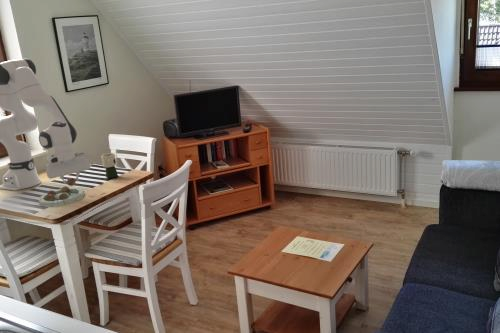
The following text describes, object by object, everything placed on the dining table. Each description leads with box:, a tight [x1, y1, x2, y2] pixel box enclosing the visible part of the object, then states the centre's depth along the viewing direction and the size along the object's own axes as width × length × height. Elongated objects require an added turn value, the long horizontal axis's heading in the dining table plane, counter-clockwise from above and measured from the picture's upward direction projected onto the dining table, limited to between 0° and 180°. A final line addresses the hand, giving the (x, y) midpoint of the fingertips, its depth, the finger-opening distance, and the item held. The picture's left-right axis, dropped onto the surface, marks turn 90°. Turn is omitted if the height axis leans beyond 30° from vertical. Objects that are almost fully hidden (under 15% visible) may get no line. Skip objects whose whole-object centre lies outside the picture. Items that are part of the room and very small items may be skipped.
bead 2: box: [66, 177, 77, 187], centre depth 254 cm, size 4×4×4 cm
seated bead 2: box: [46, 194, 55, 201], centre depth 249 cm, size 4×4×4 cm
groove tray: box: [38, 187, 85, 207], centre depth 254 cm, size 21×21×3 cm
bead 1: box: [60, 185, 70, 193], centre depth 259 cm, size 4×4×4 cm
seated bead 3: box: [59, 193, 68, 200], centre depth 248 cm, size 4×4×4 cm
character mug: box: [100, 152, 119, 179], centre depth 280 cm, size 11×7×13 cm, turn 15°
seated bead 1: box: [46, 189, 56, 196], centre depth 255 cm, size 4×4×4 cm
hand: (71, 182), depth 254 cm, fingers closed on bead 2, 4 cm apart
